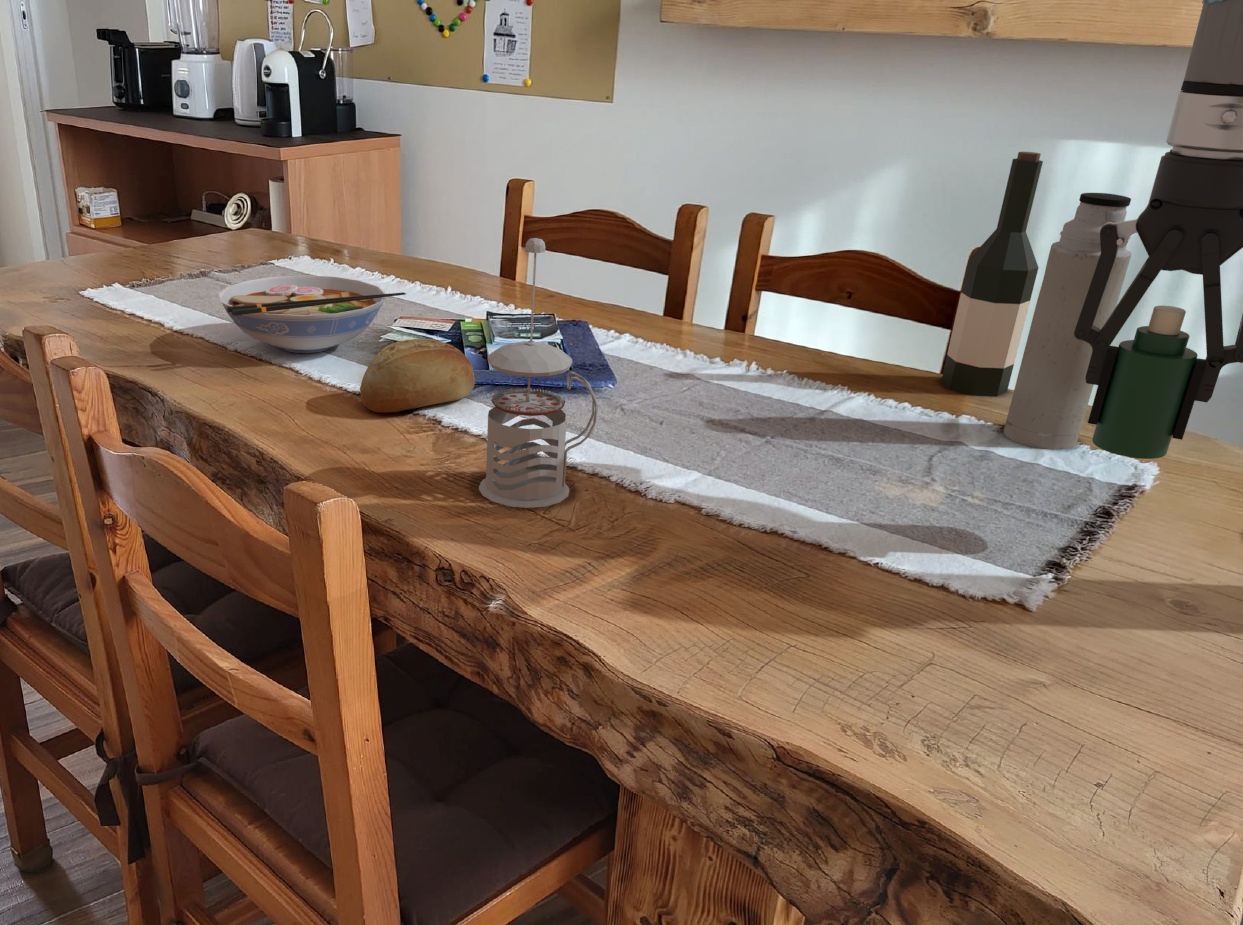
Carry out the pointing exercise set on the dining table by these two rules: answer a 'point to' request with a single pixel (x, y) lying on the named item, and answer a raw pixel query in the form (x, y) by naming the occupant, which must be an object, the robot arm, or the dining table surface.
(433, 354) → the bread roll
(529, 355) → the french press
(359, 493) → the dining table surface
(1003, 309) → the wine bottle
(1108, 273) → the robot arm
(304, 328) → the ramen bowl
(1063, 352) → the thermos bottle
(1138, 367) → the green bottle
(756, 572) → the dining table surface
